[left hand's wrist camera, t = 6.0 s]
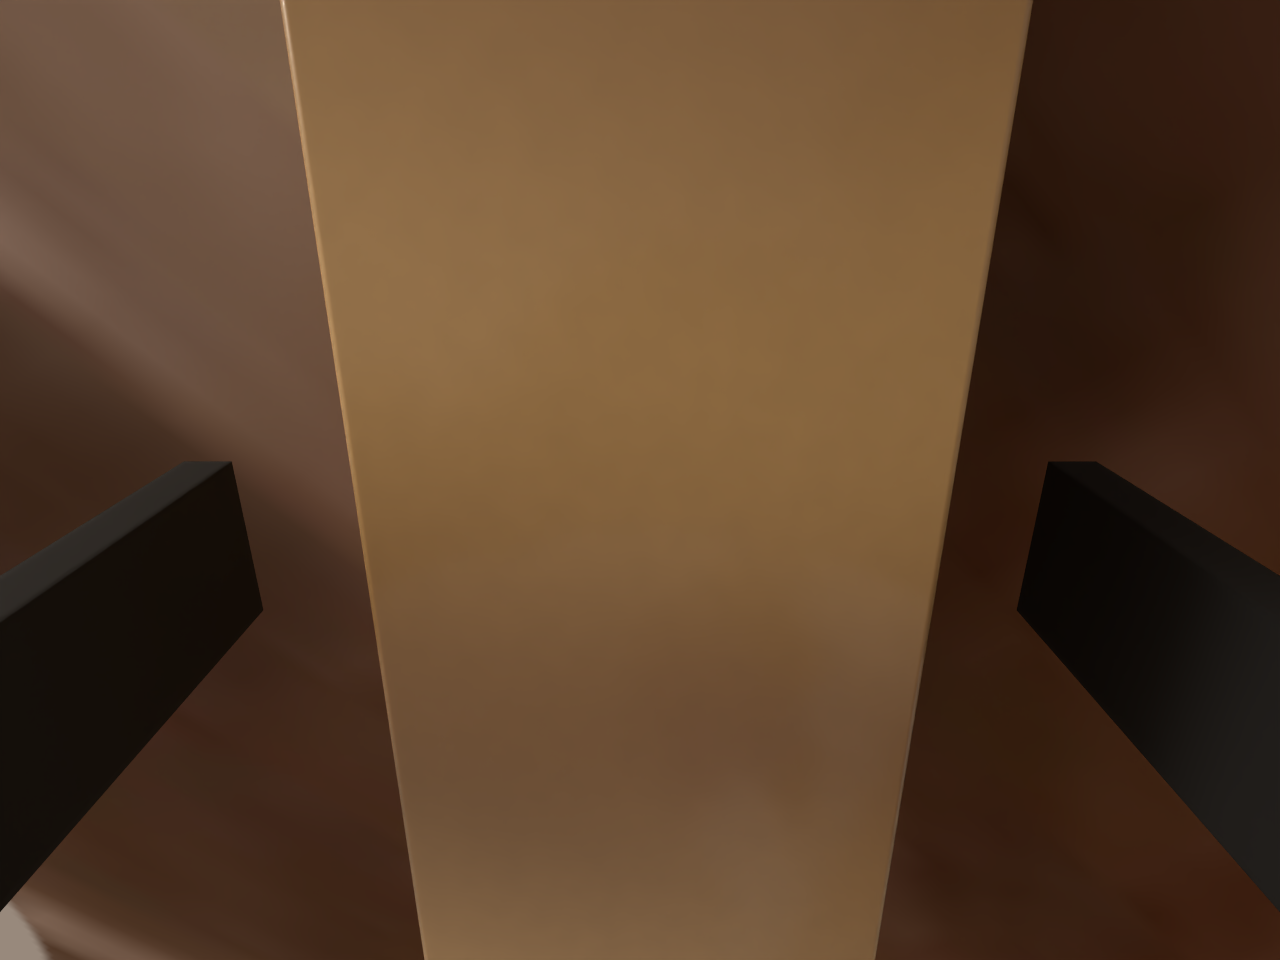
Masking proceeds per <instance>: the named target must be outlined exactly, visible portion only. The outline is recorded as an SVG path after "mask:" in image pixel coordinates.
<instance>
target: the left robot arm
mask: <svg viewBox="0 0 1280 960" xmlns="http://www.w3.org/2000/svg"><path fill="white" fill-rule="evenodd" d="M262 611H263V607H262V602H261V597H260V593H259V588H258V583H257V579H256V574H255V569H254V564H253V560H252V555H251V550H250V546H249V541H248V536H247V532H246V527H245V522H244V517H243V513H242V508H241V503H240V499H239V494H238V489H237V485H236V480H235V475H234V470H233V466H232V462H183V463H181V464H179V465H178V466H176V467H174V468H173V469H171V470H170V471H168V472H166V473H165V474H163V475H162V476H160V477H158V478H157V479H155V480H154V481H152V482H150V483H149V484H147V485H146V486H144V487H142V488H141V489H139V490H138V491H136V492H134V493H133V494H131V495H130V496H128V497H126V498H125V499H123V500H121V501H120V502H118V503H117V504H115V505H113V506H112V507H110V508H109V509H107V510H105V511H104V512H102V513H101V514H99V515H97V516H96V517H94V518H93V519H91V520H89V521H88V522H86V523H85V524H83V525H81V526H80V527H78V528H77V529H75V530H73V531H72V532H70V533H68V534H67V535H65V536H64V537H62V538H60V539H59V540H57V541H56V542H54V543H52V544H51V545H49V546H48V547H46V548H44V549H43V550H41V551H40V552H38V553H36V554H35V555H33V556H32V557H30V558H28V559H27V560H25V561H24V562H22V563H20V564H19V565H17V566H15V567H14V568H12V569H11V570H9V571H7V572H6V573H4V574H3V575H1V576H0V912H1V910H2V909H3V908H4V907H5V906H6V905H7V904H8V902H9V901H10V900H11V899H12V898H13V897H14V895H15V894H16V893H17V892H18V891H19V890H20V889H21V887H22V886H23V885H24V884H25V883H26V882H27V881H28V879H29V878H30V877H31V876H32V875H33V874H34V873H35V871H36V870H37V869H38V868H39V867H40V866H41V864H42V863H43V862H44V861H45V860H46V859H47V858H48V856H49V855H50V854H51V853H52V852H53V851H54V850H55V848H56V847H57V846H58V845H59V844H60V843H61V842H62V840H63V839H64V838H65V837H66V836H67V835H68V834H69V832H70V831H71V830H72V829H73V828H74V827H75V825H76V824H77V823H78V822H79V821H80V820H81V819H82V817H83V816H84V815H85V814H86V813H87V812H88V811H89V809H90V808H91V807H92V806H93V805H94V804H95V803H96V801H97V800H98V799H99V798H100V797H101V796H102V794H103V793H104V792H105V791H106V790H107V789H108V788H109V786H110V785H111V784H112V783H113V782H114V781H115V780H116V778H117V777H118V776H119V775H120V774H121V773H122V772H123V770H124V769H125V768H126V767H127V766H128V765H129V764H130V762H131V761H132V760H133V759H134V758H135V757H136V755H137V754H138V753H139V752H140V751H141V750H142V749H143V747H144V746H145V745H146V744H147V743H148V742H149V741H150V739H151V738H152V737H153V736H154V735H155V734H156V733H157V731H158V730H159V729H160V728H161V727H162V726H163V724H164V723H165V722H166V721H167V720H168V719H169V718H170V716H171V715H172V714H173V713H174V712H175V711H176V710H177V708H178V707H179V706H180V705H181V704H182V703H183V702H184V700H185V699H186V698H187V697H188V696H189V695H190V694H191V692H192V691H193V690H194V689H195V688H196V687H197V685H198V684H199V683H200V682H201V681H202V680H203V679H204V677H205V676H206V675H207V674H208V673H209V672H210V671H211V669H212V668H213V667H214V666H215V665H216V664H217V663H218V661H219V660H220V659H221V658H222V657H223V656H224V654H225V653H226V652H227V651H228V650H229V649H230V648H231V646H232V645H233V644H234V643H235V642H236V641H237V640H238V638H239V637H240V636H241V635H242V634H243V633H244V632H245V630H246V629H247V628H248V627H249V626H250V625H251V624H252V622H253V621H254V620H255V619H256V618H257V617H258V615H259V614H260V613H261V612H262ZM1017 611H1018V612H1019V613H1020V614H1021V615H1022V617H1023V618H1024V619H1025V620H1026V621H1027V622H1028V624H1029V625H1030V626H1031V627H1032V628H1033V629H1034V630H1035V632H1036V633H1037V634H1038V635H1039V636H1040V637H1041V638H1042V640H1043V641H1044V642H1045V643H1046V644H1047V645H1048V646H1049V648H1050V649H1051V650H1052V651H1053V652H1054V653H1055V654H1056V656H1057V657H1058V658H1059V659H1060V660H1061V661H1062V663H1063V664H1064V665H1065V666H1066V667H1067V668H1068V669H1069V671H1070V672H1071V673H1072V674H1073V675H1074V676H1075V677H1076V679H1077V680H1078V681H1079V682H1080V683H1081V684H1082V685H1083V687H1084V688H1085V689H1086V690H1087V691H1088V692H1089V694H1090V695H1091V696H1092V697H1093V698H1094V699H1095V700H1096V702H1097V703H1098V704H1099V705H1100V706H1101V707H1102V708H1103V710H1104V711H1105V712H1106V713H1107V714H1108V715H1109V716H1110V718H1111V719H1112V720H1113V721H1114V722H1115V723H1116V724H1117V726H1118V727H1119V728H1120V729H1121V730H1122V731H1123V733H1124V734H1125V735H1126V736H1127V737H1128V738H1129V739H1130V741H1131V742H1132V743H1133V744H1134V745H1135V746H1136V747H1137V749H1138V750H1139V751H1140V752H1141V753H1142V754H1143V755H1144V757H1145V758H1146V759H1147V760H1148V761H1149V762H1150V764H1151V765H1152V766H1153V767H1154V768H1155V769H1156V770H1157V772H1158V773H1159V774H1160V775H1161V776H1162V777H1163V778H1164V780H1165V781H1166V782H1167V783H1168V784H1169V785H1170V786H1171V788H1172V789H1173V790H1174V791H1175V792H1176V793H1177V794H1178V796H1179V797H1180V798H1181V799H1182V800H1183V801H1184V803H1185V804H1186V805H1187V806H1188V807H1189V808H1190V809H1191V811H1192V812H1193V813H1194V814H1195V815H1196V816H1197V817H1198V819H1199V820H1200V821H1201V822H1202V823H1203V824H1204V825H1205V827H1206V828H1207V829H1208V830H1209V831H1210V832H1211V834H1212V835H1213V836H1214V837H1215V838H1216V839H1217V840H1218V842H1219V843H1220V844H1221V845H1222V846H1223V847H1224V848H1225V850H1226V851H1227V852H1228V853H1229V854H1230V855H1231V856H1232V858H1233V859H1234V860H1235V861H1236V862H1237V863H1238V865H1239V866H1240V867H1241V868H1242V869H1243V870H1244V871H1245V873H1246V874H1247V875H1248V876H1249V877H1250V878H1251V879H1252V881H1253V882H1254V883H1255V884H1256V885H1257V886H1258V887H1259V889H1260V890H1261V891H1262V892H1263V893H1264V894H1265V895H1266V897H1267V898H1268V899H1269V900H1270V901H1271V902H1272V904H1273V905H1274V906H1275V907H1276V908H1277V909H1278V910H1279V912H1280V576H1279V575H1277V574H1276V573H1274V572H1273V571H1271V570H1269V569H1268V568H1266V567H1265V566H1263V565H1261V564H1260V563H1258V562H1256V561H1255V560H1253V559H1252V558H1250V557H1248V556H1247V555H1245V554H1244V553H1242V552H1240V551H1239V550H1237V549H1236V548H1234V547H1232V546H1231V545H1229V544H1228V543H1226V542H1224V541H1223V540H1221V539H1220V538H1218V537H1216V536H1215V535H1213V534H1212V533H1210V532H1208V531H1207V530H1205V529H1203V528H1202V527H1200V526H1199V525H1197V524H1195V523H1194V522H1192V521H1191V520H1189V519H1187V518H1186V517H1184V516H1183V515H1181V514H1179V513H1178V512H1176V511H1175V510H1173V509H1171V508H1170V507H1168V506H1167V505H1165V504H1163V503H1162V502H1160V501H1159V500H1157V499H1155V498H1154V497H1152V496H1150V495H1149V494H1147V493H1146V492H1144V491H1142V490H1141V489H1139V488H1138V487H1136V486H1134V485H1133V484H1131V483H1130V482H1128V481H1126V480H1125V479H1123V478H1122V477H1120V476H1118V475H1117V474H1115V473H1114V472H1112V471H1110V470H1109V469H1107V468H1106V467H1104V466H1102V465H1101V464H1099V463H1097V462H1048V466H1047V470H1046V475H1045V480H1044V485H1043V489H1042V494H1041V499H1040V503H1039V508H1038V513H1037V517H1036V522H1035V527H1034V532H1033V536H1032V541H1031V546H1030V550H1029V555H1028V560H1027V564H1026V569H1025V574H1024V579H1023V583H1022V588H1021V593H1020V597H1019V602H1018V607H1017Z"/></svg>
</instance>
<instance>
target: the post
mask: <svg viewBox="0 0 1280 960" xmlns="http://www.w3.org/2000/svg"><path fill="white" fill-rule="evenodd" d="M1032 4H1033V0H280V5H281V11H282V18H283V24H284V31H285V38H286V44H287V51H288V58H289V64H290V71H291V77H292V84H293V91H294V97H295V104H296V111H297V117H298V124H299V130H300V137H301V144H302V150H303V157H304V164H305V170H306V177H307V183H308V190H309V197H310V203H311V210H312V217H313V223H314V230H315V236H316V243H317V250H318V256H319V263H320V270H321V276H322V283H323V289H324V296H325V303H326V309H327V316H328V323H329V329H330V336H331V342H332V349H333V356H334V362H335V369H336V376H337V382H338V389H339V395H340V402H341V409H342V415H343V422H344V429H345V435H346V442H347V449H348V455H349V462H350V468H351V475H352V482H353V488H354V495H355V502H356V508H357V515H358V521H359V528H360V535H361V541H362V548H363V555H364V561H365V568H366V574H367V581H368V588H369V594H370V601H371V608H372V614H373V621H374V627H375V634H376V641H377V647H378V654H379V661H380V667H381V674H382V680H383V687H384V694H385V700H386V707H387V714H388V720H389V727H390V733H391V740H392V747H393V753H394V760H395V767H396V773H397V780H398V786H399V793H400V800H401V806H402V813H403V820H404V826H405V833H406V839H407V846H408V853H409V859H410V866H411V873H412V879H413V886H414V892H415V899H416V906H417V912H418V919H419V926H420V932H421V939H422V946H423V952H424V959H425V960H875V956H876V950H877V944H878V938H879V932H880V926H881V920H882V914H883V908H884V901H885V895H886V889H887V883H888V877H889V871H890V865H891V859H892V853H893V847H894V841H895V835H896V829H897V823H898V817H899V811H900V804H901V798H902V792H903V786H904V780H905V774H906V768H907V762H908V756H909V750H910V744H911V738H912V732H913V726H914V720H915V713H916V707H917V701H918V695H919V689H920V683H921V677H922V671H923V665H924V659H925V653H926V647H927V641H928V635H929V629H930V623H931V616H932V610H933V604H934V598H935V592H936V586H937V580H938V574H939V568H940V562H941V556H942V550H943V544H944V538H945V532H946V526H947V519H948V513H949V507H950V501H951V495H952V489H953V483H954V477H955V471H956V465H957V459H958V453H959V447H960V441H961V435H962V428H963V422H964V416H965V410H966V404H967V398H968V392H969V386H970V380H971V374H972V368H973V362H974V356H975V350H976V344H977V338H978V331H979V325H980V319H981V313H982V307H983V301H984V295H985V289H986V283H987V277H988V271H989V265H990V259H991V253H992V247H993V240H994V234H995V228H996V222H997V216H998V210H999V204H1000V198H1001V192H1002V186H1003V180H1004V174H1005V168H1006V162H1007V156H1008V150H1009V143H1010V137H1011V131H1012V125H1013V119H1014V113H1015V107H1016V101H1017V95H1018V89H1019V83H1020V77H1021V71H1022V65H1023V59H1024V52H1025V46H1026V40H1027V34H1028V28H1029V22H1030V16H1031V10H1032Z"/></svg>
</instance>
